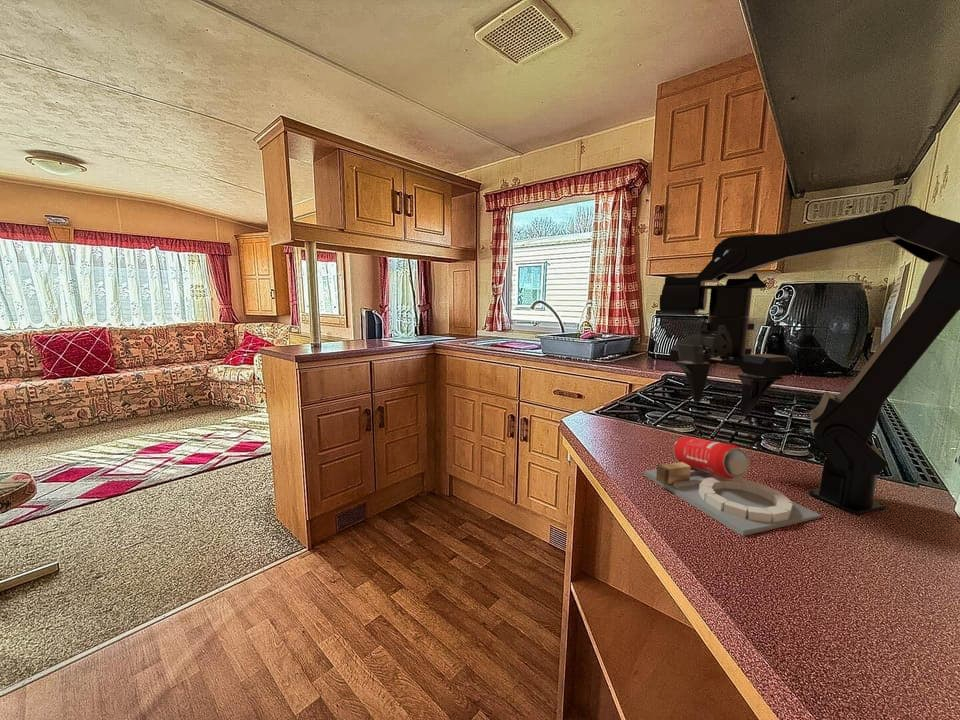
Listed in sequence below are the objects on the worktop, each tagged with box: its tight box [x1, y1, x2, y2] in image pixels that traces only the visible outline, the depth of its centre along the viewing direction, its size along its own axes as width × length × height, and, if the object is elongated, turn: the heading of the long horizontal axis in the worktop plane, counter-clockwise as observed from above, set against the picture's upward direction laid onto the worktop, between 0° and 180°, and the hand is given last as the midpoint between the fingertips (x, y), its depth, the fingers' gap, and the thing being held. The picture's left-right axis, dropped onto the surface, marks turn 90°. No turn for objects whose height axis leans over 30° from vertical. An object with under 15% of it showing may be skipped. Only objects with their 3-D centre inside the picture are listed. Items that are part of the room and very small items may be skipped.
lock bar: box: [656, 461, 691, 485], centre depth 64 cm, size 5×2×2 cm, turn 106°
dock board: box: [643, 467, 822, 537], centre depth 62 cm, size 14×19×2 cm
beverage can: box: [672, 436, 750, 478], centre depth 66 cm, size 5×5×12 cm
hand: (719, 408), depth 67 cm, fingers open, 9 cm apart
